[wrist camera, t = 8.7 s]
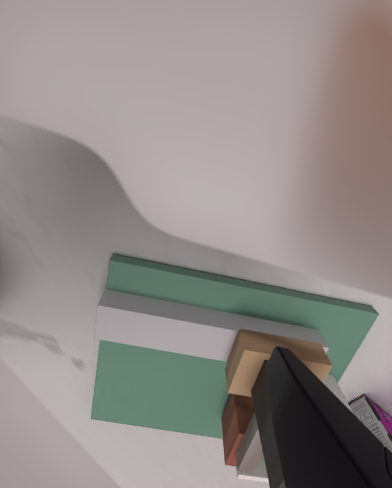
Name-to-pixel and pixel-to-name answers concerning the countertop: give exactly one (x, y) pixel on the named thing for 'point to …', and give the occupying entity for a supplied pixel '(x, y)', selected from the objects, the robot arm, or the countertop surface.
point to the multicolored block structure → (259, 399)
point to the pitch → (200, 342)
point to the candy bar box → (373, 419)
